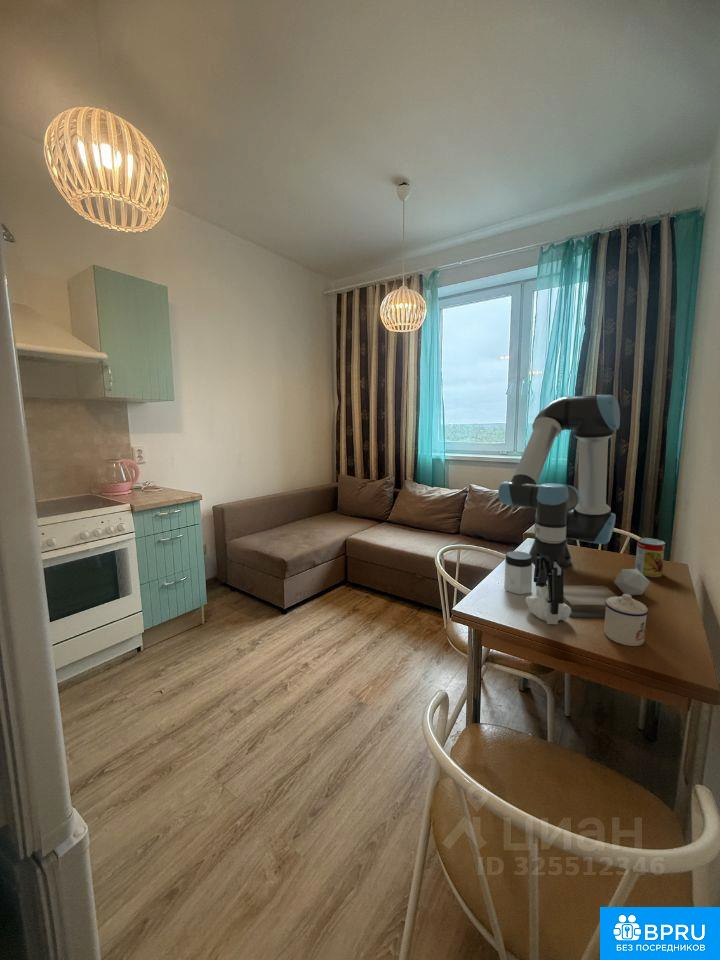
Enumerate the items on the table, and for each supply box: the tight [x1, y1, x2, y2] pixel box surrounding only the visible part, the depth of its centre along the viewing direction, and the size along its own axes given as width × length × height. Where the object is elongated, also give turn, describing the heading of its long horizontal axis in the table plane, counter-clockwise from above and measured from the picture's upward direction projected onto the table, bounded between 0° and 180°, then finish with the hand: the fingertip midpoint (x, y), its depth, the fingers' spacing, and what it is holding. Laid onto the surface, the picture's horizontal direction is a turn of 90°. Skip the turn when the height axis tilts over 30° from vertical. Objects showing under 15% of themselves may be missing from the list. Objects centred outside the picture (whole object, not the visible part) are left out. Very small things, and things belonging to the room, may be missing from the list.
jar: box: [503, 550, 533, 595], centre depth 128 cm, size 9×8×12 cm
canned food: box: [634, 537, 666, 578], centre depth 138 cm, size 8×8×12 cm
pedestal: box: [563, 585, 619, 618], centre depth 117 cm, size 16×18×3 cm
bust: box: [524, 585, 571, 622], centre depth 109 cm, size 12×8×11 cm
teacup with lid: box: [603, 593, 649, 647], centre depth 100 cm, size 12×9×12 cm
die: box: [613, 568, 650, 596], centre depth 123 cm, size 8×9×10 cm
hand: (546, 615), depth 110 cm, fingers closed on bust, 7 cm apart
